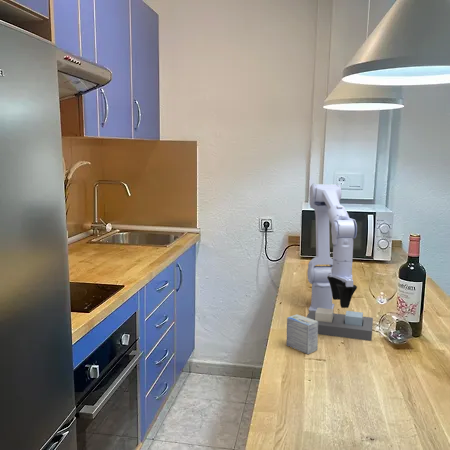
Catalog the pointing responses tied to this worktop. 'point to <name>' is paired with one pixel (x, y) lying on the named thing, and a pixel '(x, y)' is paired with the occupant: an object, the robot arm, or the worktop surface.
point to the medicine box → (302, 333)
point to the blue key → (354, 318)
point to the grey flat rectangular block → (344, 327)
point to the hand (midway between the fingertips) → (340, 303)
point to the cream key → (324, 315)
